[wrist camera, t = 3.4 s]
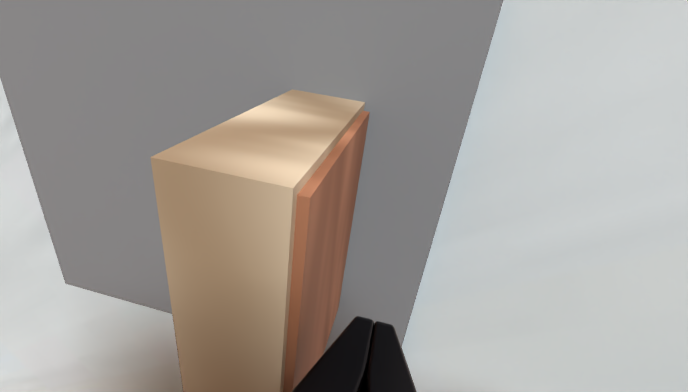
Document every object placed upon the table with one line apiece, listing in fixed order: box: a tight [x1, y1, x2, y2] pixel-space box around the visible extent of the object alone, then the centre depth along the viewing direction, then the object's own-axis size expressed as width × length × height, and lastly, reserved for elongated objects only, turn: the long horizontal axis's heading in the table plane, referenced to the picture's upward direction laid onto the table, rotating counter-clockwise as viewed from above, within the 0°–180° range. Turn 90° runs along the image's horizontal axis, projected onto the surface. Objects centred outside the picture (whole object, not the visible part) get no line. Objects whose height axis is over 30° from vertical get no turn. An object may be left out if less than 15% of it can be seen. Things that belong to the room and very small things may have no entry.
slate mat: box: [0, 0, 503, 353], centre depth 13 cm, size 16×14×1 cm
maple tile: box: [150, 89, 370, 392], centre depth 9 cm, size 2×8×6 cm, turn 172°
